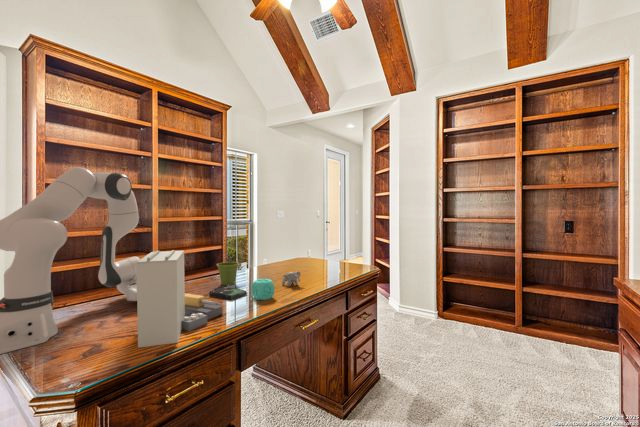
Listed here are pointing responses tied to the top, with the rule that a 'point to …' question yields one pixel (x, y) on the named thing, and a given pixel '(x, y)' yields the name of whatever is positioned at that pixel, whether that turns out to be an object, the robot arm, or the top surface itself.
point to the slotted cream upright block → (160, 297)
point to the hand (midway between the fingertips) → (165, 292)
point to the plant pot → (228, 272)
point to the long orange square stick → (197, 300)
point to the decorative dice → (263, 289)
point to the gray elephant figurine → (291, 278)
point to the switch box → (194, 321)
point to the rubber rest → (204, 310)
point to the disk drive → (228, 293)
